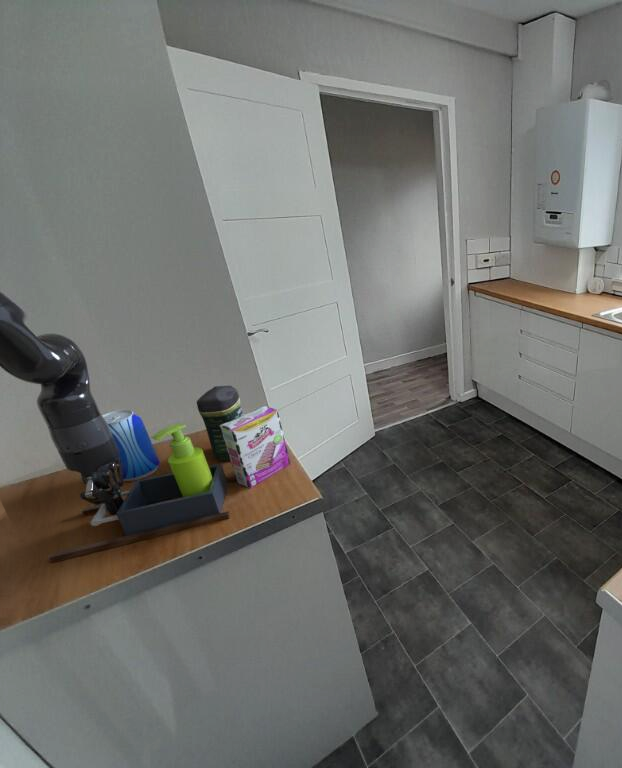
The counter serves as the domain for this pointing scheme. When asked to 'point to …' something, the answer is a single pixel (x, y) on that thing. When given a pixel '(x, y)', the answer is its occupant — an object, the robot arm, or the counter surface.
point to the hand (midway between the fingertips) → (118, 512)
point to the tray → (165, 503)
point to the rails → (137, 536)
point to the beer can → (132, 444)
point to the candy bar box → (256, 446)
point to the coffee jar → (219, 416)
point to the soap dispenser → (187, 462)
